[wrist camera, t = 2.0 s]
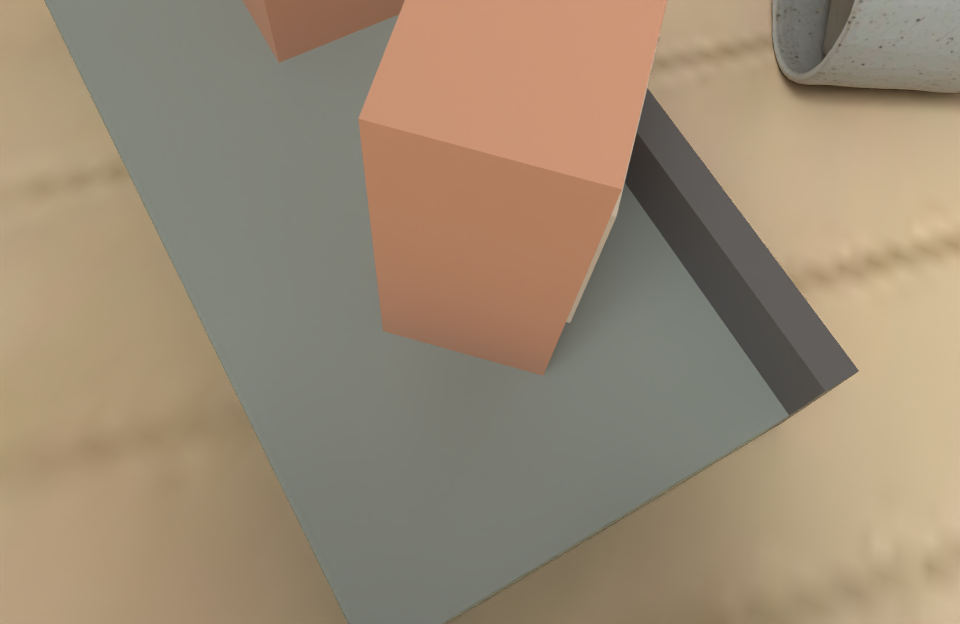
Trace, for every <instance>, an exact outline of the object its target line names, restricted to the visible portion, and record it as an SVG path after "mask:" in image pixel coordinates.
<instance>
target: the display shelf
mask: <svg viewBox="0 0 960 624" xmlns="http://www.w3.org/2000/svg"><path fill="white" fill-rule="evenodd" d="M44 1H45V3H46V5H47V7H48V9H49V11H50V13H51V15H52V17H53V19H54V21H55V23H56V25H57V27H58V29H59V31H60V33H61V35H62V37H63V40H64V42H65V44H66V46H67V48H68V50H69V52H70V54H71V56H72V58H73V60H74V62H75V64H76V66H77V68H78V70H79V72H80V74H81V76H82V78H83V81H84V83H85V85H86V87H87V89H88V91H89V93H90V95H91V97H92V99H93V101H94V103H95V105H96V107H97V109H98V111H99V113H100V115H101V117H102V119H103V122H104V124H105V126H106V128H107V130H108V132H109V134H110V136H111V138H112V140H113V142H114V144H115V146H116V148H117V150H118V152H119V154H120V156H121V158H122V161H123V163H124V165H125V167H126V169H127V171H128V173H129V175H130V177H131V179H132V181H133V183H134V185H135V187H136V189H137V191H138V193H139V195H140V197H141V199H142V202H143V204H144V206H145V208H146V210H147V212H148V214H149V216H150V218H151V220H152V222H153V224H154V226H155V228H156V230H157V232H158V234H159V236H160V238H161V240H162V243H163V245H164V247H165V249H166V251H167V253H168V255H169V257H170V259H171V261H172V263H173V265H174V267H175V269H176V271H177V273H178V275H179V277H180V279H181V282H182V284H183V286H184V288H185V290H186V292H187V294H188V296H189V298H190V300H191V302H192V304H193V306H194V308H195V310H196V312H197V314H198V316H199V318H200V320H201V323H202V325H203V327H204V329H205V331H206V333H207V335H208V337H209V339H210V341H211V343H212V345H213V347H214V349H215V351H216V353H217V355H218V357H219V359H220V361H221V364H222V366H223V368H224V370H225V372H226V374H227V376H228V378H229V380H230V382H231V384H232V386H233V388H234V390H235V392H236V394H237V396H238V398H239V400H240V402H241V405H242V407H243V409H244V411H245V413H246V415H247V417H248V419H249V421H250V423H251V425H252V427H253V429H254V431H255V433H256V435H257V437H258V439H259V441H260V444H261V446H262V448H263V450H264V452H265V454H266V456H267V458H268V460H269V462H270V464H271V466H272V468H273V470H274V472H275V474H276V476H277V478H278V480H279V482H280V485H281V487H282V489H283V491H284V493H285V495H286V497H287V499H288V501H289V503H290V505H291V507H292V509H293V511H294V513H295V515H296V517H297V519H298V521H299V523H300V526H301V528H302V530H303V532H304V534H305V536H306V538H307V540H308V542H309V544H310V546H311V548H312V550H313V552H314V554H315V556H316V558H317V560H318V562H319V565H320V567H321V569H322V571H323V573H324V575H325V577H326V579H327V581H328V583H329V585H330V587H331V589H332V591H333V593H334V595H335V597H336V599H337V601H338V603H339V606H340V608H341V610H342V612H343V614H344V616H345V618H346V620H347V622H348V624H447V623H448V622H450V621H452V620H453V619H455V618H457V617H458V616H460V615H462V614H463V613H465V612H467V611H468V610H470V609H472V608H473V607H475V606H477V605H478V604H480V603H482V602H484V601H485V600H487V599H489V598H490V597H492V596H494V595H495V594H497V593H499V592H500V591H502V590H504V589H505V588H507V587H509V586H510V585H512V584H514V583H515V582H517V581H519V580H520V579H522V578H524V577H525V576H527V575H529V574H530V573H532V572H534V571H535V570H537V569H539V568H540V567H542V566H544V565H545V564H547V563H549V562H550V561H552V560H554V559H555V558H557V557H559V556H560V555H562V554H564V553H565V552H567V551H569V550H570V549H572V548H574V547H575V546H577V545H579V544H580V543H582V542H584V541H585V540H587V539H589V538H590V537H592V536H594V535H595V534H597V533H599V532H600V531H602V530H604V529H605V528H607V527H609V526H610V525H612V524H614V523H615V522H617V521H619V520H620V519H622V518H624V517H625V516H627V515H629V514H630V513H632V512H634V511H635V510H637V509H639V508H640V507H642V506H644V505H645V504H647V503H649V502H650V501H652V500H654V499H655V498H657V497H659V496H660V495H662V494H664V493H665V492H667V491H669V490H670V489H672V488H674V487H675V486H677V485H679V484H680V483H682V482H684V481H685V480H687V479H689V478H691V477H692V476H694V475H696V474H697V473H699V472H701V471H702V470H704V469H706V468H707V467H709V466H711V465H712V464H714V463H716V462H717V461H719V460H721V459H722V458H724V457H726V456H727V455H729V454H731V453H732V452H734V451H736V450H737V449H739V448H741V447H742V446H744V445H746V444H747V443H749V442H751V441H752V440H754V439H756V438H757V437H759V436H761V435H762V434H764V433H766V432H767V431H769V430H771V429H772V428H774V427H776V426H777V425H779V424H781V423H782V422H784V421H785V420H787V419H788V418H790V417H791V416H793V415H794V414H796V413H797V412H799V411H800V410H802V409H803V408H805V407H806V406H808V405H809V404H811V403H812V402H814V401H815V400H817V399H818V398H820V397H821V396H823V395H824V394H826V393H827V392H829V391H830V390H832V389H833V388H835V387H836V386H837V385H839V384H840V383H842V382H843V381H845V380H846V379H848V378H849V377H851V376H852V375H854V374H855V373H857V372H858V371H859V370H858V369H857V368H856V366H855V365H854V364H853V362H852V361H851V360H850V358H849V357H848V356H847V354H846V353H845V352H844V350H843V349H842V348H841V346H840V345H839V344H838V342H837V341H836V340H835V338H834V337H833V336H832V334H831V333H830V332H829V330H828V329H827V328H826V326H825V325H824V324H823V322H822V321H821V320H820V318H819V317H818V316H817V314H816V313H815V312H814V310H813V309H812V308H811V306H810V305H809V304H808V302H807V301H806V300H805V298H804V297H803V296H802V294H801V293H800V292H799V290H798V289H797V288H796V286H795V285H794V284H793V282H792V281H791V280H790V278H789V277H788V276H787V274H786V273H785V272H784V270H783V269H782V268H781V266H780V265H779V264H778V262H777V261H776V260H775V258H774V257H773V256H772V254H771V253H770V251H769V250H768V249H767V247H766V246H765V245H764V243H763V242H762V241H761V239H760V238H759V237H758V235H757V234H756V233H755V231H754V230H753V229H752V227H751V226H750V225H749V223H748V222H747V221H746V219H745V218H744V217H743V215H742V214H741V213H740V211H739V210H738V209H737V207H736V206H735V205H734V203H733V202H732V201H731V199H730V198H729V197H728V195H727V194H726V193H725V191H724V190H723V189H722V187H721V186H720V185H719V183H718V182H717V181H716V179H715V178H714V177H713V175H712V174H711V173H710V171H709V170H708V169H707V167H706V166H705V165H704V163H703V162H702V161H701V159H700V158H699V157H698V155H697V154H696V153H695V151H694V150H693V149H692V147H691V146H690V145H689V143H688V142H687V141H686V139H685V138H684V137H683V135H682V134H681V133H680V131H679V130H678V128H677V127H676V126H675V124H674V123H673V122H672V120H671V119H670V118H669V116H668V115H667V114H666V112H665V111H664V110H663V108H662V107H661V106H660V104H659V103H658V102H657V100H656V99H655V98H654V96H653V95H652V94H651V92H650V91H649V90H648V88H647V91H646V95H645V100H644V104H643V108H642V112H641V116H640V120H639V125H638V129H637V133H636V137H635V141H634V145H633V150H632V154H631V158H630V162H629V166H628V170H627V175H626V179H625V183H624V187H623V191H622V196H621V200H620V204H619V208H618V212H617V216H616V219H615V221H614V223H613V226H612V228H611V230H610V233H609V235H608V237H607V240H606V242H605V244H604V246H603V249H602V251H601V253H600V256H599V258H598V260H597V263H596V265H595V267H594V269H593V272H592V274H591V276H590V279H589V281H588V283H587V285H586V288H585V290H584V292H583V295H582V297H581V299H580V302H579V304H578V306H577V308H576V311H575V313H574V315H573V318H572V320H571V322H570V323H568V322H566V323H565V325H564V328H563V330H562V333H561V335H560V337H559V340H558V342H557V344H556V347H555V349H554V351H553V354H552V356H551V359H550V361H549V363H548V366H547V368H546V370H545V373H544V375H543V376H542V375H539V374H535V373H532V372H528V371H524V370H521V369H517V368H514V367H510V366H507V365H503V364H499V363H496V362H492V361H489V360H485V359H481V358H478V357H474V356H471V355H467V354H463V353H460V352H456V351H453V350H449V349H446V348H442V347H438V346H435V345H431V344H428V343H424V342H420V341H417V340H413V339H410V338H406V337H403V336H399V335H395V334H392V333H388V332H385V331H383V327H382V319H381V310H380V301H379V293H378V284H377V276H376V267H375V258H374V250H373V241H372V232H371V224H370V215H369V207H368V198H367V189H366V181H365V172H364V163H363V155H362V146H361V137H360V129H359V120H358V118H359V116H360V113H361V111H362V108H363V106H364V103H365V100H366V98H367V95H368V93H369V90H370V88H371V85H372V83H373V80H374V77H375V75H376V72H377V70H378V67H379V65H380V62H381V60H382V57H383V55H384V52H385V49H386V47H387V44H388V42H389V39H390V37H391V34H392V32H393V29H394V27H395V24H396V21H397V19H398V16H399V15H396V16H394V17H391V18H389V19H387V20H384V21H382V22H379V23H377V24H374V25H372V26H369V27H367V28H364V29H362V30H359V31H357V32H354V33H352V34H349V35H347V36H344V37H342V38H339V39H337V40H334V41H332V42H329V43H327V44H324V45H322V46H320V47H317V48H315V49H312V50H310V51H307V52H305V53H302V54H300V55H297V56H295V57H292V58H290V59H287V60H285V61H282V62H280V63H279V62H278V60H277V59H276V57H275V55H274V54H273V52H272V50H271V48H270V47H269V45H268V43H267V42H266V40H265V38H264V36H263V35H262V33H261V31H260V30H259V28H258V26H257V24H256V23H255V21H254V19H253V18H252V16H251V14H250V12H249V11H248V9H247V7H246V6H245V4H244V2H243V0H44Z"/></svg>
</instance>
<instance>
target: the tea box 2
mask: <svg viewBox="0 0 960 624" xmlns="http://www.w3.org/2000/svg"><path fill="white" fill-rule="evenodd" d="M666 4H667V0H405V1H404V4H403V6H402V9H401V11H400V14H399V16H398V19H397V21H396V24H395V27H394V29H393V32H392V34H391V37H390V39H389V42H388V44H387V47H386V49H385V52H384V55H383V57H382V60H381V62H380V65H379V67H378V70H377V72H376V75H375V77H374V80H373V83H372V85H371V88H370V90H369V93H368V95H367V98H366V100H365V103H364V106H363V108H362V111H361V113H360V116H359V118H358V120H359V129H360V137H361V146H362V155H363V163H364V172H365V181H366V189H367V198H368V207H369V215H370V224H371V232H372V241H373V250H374V258H375V267H376V276H377V284H378V293H379V301H380V310H381V319H382V327H383V331H385V332H388V333H392V334H395V335H399V336H403V337H406V338H410V339H413V340H417V341H420V342H424V343H428V344H431V345H435V346H438V347H442V348H446V349H449V350H453V351H456V352H460V353H463V354H467V355H471V356H474V357H478V358H481V359H485V360H489V361H492V362H496V363H499V364H503V365H507V366H510V367H514V368H517V369H521V370H524V371H528V372H532V373H535V374H539V375H542V376H543V375H544V373H545V370H546V368H547V366H548V363H549V361H550V359H551V356H552V354H553V351H554V349H555V347H556V344H557V342H558V340H559V337H560V335H561V333H562V330H563V328H564V325H565V323H566V322H568V323H570V322H571V320H572V318H573V315H574V313H575V311H576V308H577V306H578V304H579V302H580V299H581V297H582V295H583V292H584V290H585V288H586V285H587V283H588V281H589V279H590V276H591V274H592V272H593V269H594V267H595V265H596V263H597V260H598V258H599V256H600V253H601V251H602V249H603V246H604V244H605V242H606V240H607V237H608V235H609V233H610V230H611V228H612V226H613V223H614V221H615V219H616V216H617V212H618V208H619V204H620V200H621V196H622V191H623V187H624V183H625V179H626V175H627V170H628V166H629V162H630V158H631V154H632V150H633V145H634V141H635V137H636V133H637V129H638V125H639V120H640V116H641V112H642V108H643V104H644V100H645V95H646V91H647V87H648V83H649V79H650V75H651V70H652V66H653V62H654V58H655V54H656V50H657V45H658V41H659V33H660V29H661V25H662V20H663V16H664V12H665V8H666Z"/></svg>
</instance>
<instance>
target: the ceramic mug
mask: <svg viewBox="0 0 960 624" xmlns="http://www.w3.org/2000/svg"><path fill="white" fill-rule="evenodd" d="M772 28H773V30H772V38H773V43H774V51H775V54H776V59H777V62H778V64H779V67H780V69H781V71H782V72H783V74H784V75H785V76H786V77H787V78H789V79H790V80H791V81H794V82H796V83H800V84H807V85H836V86H846V87H860V88H880V89H908V90H921V91H929V92H946V93H960V0H773V4H772Z"/></svg>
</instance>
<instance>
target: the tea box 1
mask: <svg viewBox="0 0 960 624" xmlns="http://www.w3.org/2000/svg"><path fill="white" fill-rule="evenodd" d="M404 1H405V0H243V2H244V4H245V6H246V7H247V9H248V11H249V12H250V14H251V16H252V18H253V19H254V21H255V23H256V24H257V26H258V28H259V30H260V31H261V33H262V35H263V36H264V38H265V40H266V42H267V43H268V45H269V47H270V48H271V50H272V52H273V54H274V55H275V57H276V59H277V60H278V62H279V63H280V62H282V61H285V60H287V59H290V58H292V57H295V56H297V55H300V54H302V53H305V52H307V51H310V50H312V49H315V48H317V47H320V46H322V45H324V44H327V43H329V42H332V41H334V40H337V39H339V38H342V37H344V36H347V35H349V34H352V33H354V32H357V31H359V30H362V29H364V28H367V27H369V26H372V25H374V24H377V23H379V22H382V21H384V20H387V19H389V18H391V17H394V16H396V15H399V14H400V11H401V9H402V6H403V4H404Z"/></svg>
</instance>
